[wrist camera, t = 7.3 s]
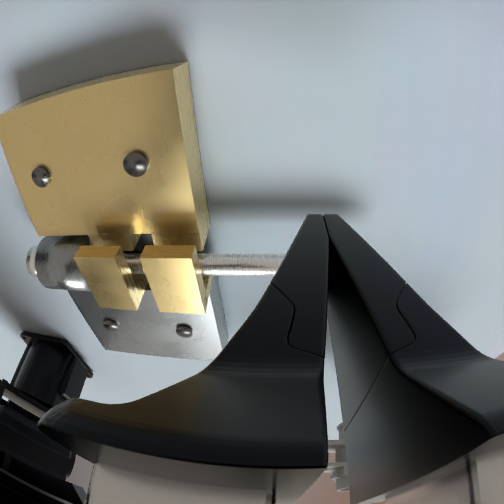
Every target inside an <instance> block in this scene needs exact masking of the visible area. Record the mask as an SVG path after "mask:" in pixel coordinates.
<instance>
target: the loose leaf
mask: <svg viewBox="0 0 504 504" xmlns="http://www.w3.org/2000/svg"><path fill="white" fill-rule="evenodd" d="M0 141H1V144H2V147H3V150H4V153H5V156H6V159H7V162H8V165H9V167H10V170H11V173H12V175H13V178H14V180H15V183H16V185H17V188H18V190H19V193H20V195H21V198H22V200H23V202H24V205H25V207H26V209H27V212H28V214H29V216H30V218H31V220H32V223H33V225H34V227H35V229H36V231H37V233H38V235H39V236H63V235H88V236H89V239H90V241H91V243H92V246H80V248H79V249H78V251H77V252H76V254H75V256H74V259H75V261H76V263H77V265H78V267H79V269H80V271H81V273H82V275H83V277H84V279H85V281H86V283H87V285H88V287H89V289H90V291H91V292H92V294H93V296H94V298H95V300H96V302H97V303H98V305H99V307H101V308H113V309H125V310H138V307H139V305H140V302H141V299H142V297H143V294H144V291H145V289H146V286H147V284H148V282H149V285H150V288H151V290H152V293H153V295H154V298H155V301H156V303H157V306H158V308H159V311H160V312H170V313H189V314H205V312H206V307H207V303H208V298H209V293H210V288H211V284H212V279H213V276H203V275H202V273H201V269H200V264H199V259H198V255H197V251H203V249H204V245H205V241H206V238H207V234H208V231H209V227H210V219H209V213H208V206H207V200H206V193H205V187H204V180H203V173H202V166H201V159H200V152H199V145H198V138H197V130H196V123H195V115H194V108H193V100H192V92H191V83H190V75H189V66H188V61H187V62H179V63H172V64H165V65H159V66H153V67H148V68H142V69H137V70H132V71H127V72H122V73H118V74H113V75H109V76H105V77H101V78H97V79H93V80H89V81H85V82H82V83H78V84H75V85H71V86H68V87H65V88H61V89H58V90H55V91H52V92H49V93H46V94H43V95H40V96H37V97H34V98H31V99H29V100H26V101H23V102H21V103H18V104H17V105H15V106H13V107H11V108H10V109H8V110H6V111H4V112H3V113H1V114H0ZM141 234H151V235H152V238H153V242H154V245H145V247H144V249H143V252H142V254H141V256H140V261H141V264H142V266H143V269H144V272H145V274H132V273H131V270H130V268H129V265H128V263H127V260H126V258H125V255H124V253H123V251H133V250H134V248H135V246H136V244H137V242H138V240H139V238H140V236H141Z"/></svg>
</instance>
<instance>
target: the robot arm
mask: <svg viewBox="0 0 504 504" xmlns="http://www.w3.org/2000/svg"><path fill="white" fill-rule="evenodd" d="M327 317H328V323H329V329H330V335H331V341H332V347H333V354H334V360H335V367H336V374H337V381H338V388H339V396H340V403H341V411H342V420H343V428H344V431H345V432H344V438H345V447H346V457H347V467H348V478H349V490H350V502H351V504H369V503H375V502H382V501H385V504H504V361H501V360H496V359H493V358H490V357H487V356H486V355H484V354H482V353H481V352H479V351H478V350H476V349H475V348H474V347H473V346H472V345H471V344H470V343H469V342H468V341H467V340H465V339H464V338H463V337H462V336H461V335H460V334H459V333H458V332H457V331H456V330H455V329H454V328H453V327H452V326H450V325H449V324H448V323H447V322H446V321H445V320H444V319H443V318H442V317H441V316H440V315H439V314H437V313H436V312H435V311H434V310H433V309H432V308H431V307H430V306H429V305H428V304H427V303H426V302H425V301H424V300H423V299H422V298H421V297H420V296H419V295H418V294H417V293H416V292H415V291H414V290H413V289H412V288H411V287H410V286H409V284H407V283H406V282H405V280H404V279H403V278H402V277H401V276H400V275H399V274H398V273H397V272H396V271H395V270H394V269H393V268H392V267H391V266H390V265H389V264H388V263H387V262H386V261H385V260H384V259H383V258H382V257H381V256H380V255H379V254H378V253H377V252H376V251H375V250H374V249H373V248H372V247H371V246H370V245H369V244H368V243H367V242H366V241H365V240H364V239H363V238H362V237H361V236H360V235H359V234H358V233H357V232H356V231H355V230H354V229H353V228H351V227H350V226H349V225H348V224H347V223H346V222H345V221H344V220H343V219H342V218H341V217H340V216H339V215H337V214H324V215H323V216H322V214H308V215H307V217H306V218H305V220H304V222H303V224H302V226H301V228H300V230H299V231H298V233H297V235H296V237H295V239H294V241H293V243H292V244H291V246H290V248H289V250H288V252H287V254H286V255H285V257H284V259H283V261H282V263H281V265H280V266H279V268H278V270H277V272H276V274H275V275H274V277H273V279H272V281H271V283H270V285H269V286H268V288H267V290H266V291H265V293H264V295H263V296H262V298H261V300H260V301H259V303H258V305H257V306H256V308H255V309H254V310H253V312H252V313H251V315H250V316H249V317H248V319H247V320H246V321H245V323H244V324H243V325H242V326H241V328H240V329H239V330H238V331H237V332H236V334H235V335H234V336H233V337H232V339H231V340H230V341H229V342H228V344H227V345H226V346H225V347H224V348H223V350H222V351H221V352H220V353H219V354H218V356H217V357H216V358H215V359H214V360H213V361H212V362H211V363H210V364H209V365H208V366H207V367H206V368H205V369H204V370H202V371H201V372H199V373H198V374H196V375H194V376H192V377H190V378H188V379H185V380H183V381H181V382H179V383H176V384H174V385H172V386H170V387H167V388H165V389H163V390H160V391H158V392H156V393H153V394H151V395H149V396H146V397H144V398H141V399H139V400H136V401H133V402H129V403H123V404H103V403H98V402H94V401H89V400H85V399H79V397H80V394H81V391H82V388H83V385H84V382H85V379H86V377H87V378H92V376H93V373H92V372H91V371H90V369H89V368H88V367H87V366H86V365H85V363H84V362H83V361H82V360H81V359H80V357H79V356H78V355H77V354H76V352H75V351H74V350H73V349H72V347H71V346H70V345H69V343H68V342H66V341H65V340H61V339H56V338H51V337H46V336H40V335H36V334H31V333H26V332H22V333H21V335H20V336H21V338H22V339H23V340H24V341H25V343H26V344H27V347H26V349H25V352H24V354H23V356H22V358H21V360H20V362H19V365H18V367H17V369H16V372H15V374H14V376H13V378H12V381H11V383H10V384H9V383H8V381H6V380H5V379H3V380H0V504H294V503H295V502H296V501H297V500H298V499H299V498H300V497H301V496H302V495H303V494H304V493H305V492H306V491H307V490H308V489H309V488H310V486H311V485H312V484H313V483H314V482H315V481H316V480H317V479H318V478H319V477H320V475H321V474H322V473H323V472H324V471H325V470H326V469H327V467H328V436H327V420H326V406H325V394H324V358H325V345H326V329H327ZM3 395H4V396H5V397H7V398H8V399H10V400H8V401H5V400H4V399H2V396H3ZM11 400H12V401H13V402H12V401H11ZM14 402H15V403H14ZM17 404H18V405H17ZM19 405H20V406H19ZM22 407H23V408H22ZM24 408H25V409H24ZM27 410H28V411H27ZM29 411H30V412H29ZM31 412H32V413H33V414H32V413H31ZM34 414H35V415H34ZM36 415H37V416H36ZM38 416H39V417H38ZM40 417H41V418H40ZM76 454H77V455H79V456H81V457H82V458H84V459H86V460H88V461H90V462H92V463H94V466H93V471H92V475H91V480H90V484H89V489H88V493H87V495H86V493H85V491H84V489H83V488H82V487H79V486H76V485H74V484H72V483H69V482H67V481H65V480H66V479H67V478H68V477H69V475H70V474H71V472H72V469H73V466H74V463H75V456H76Z"/></svg>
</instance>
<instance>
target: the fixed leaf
mask: <svg viewBox="0 0 504 504" xmlns="http://www.w3.org/2000/svg"><path fill="white" fill-rule="evenodd" d="M80 246H92V243H91V241H90V239H89V236H88V235H63V236H46V237H44V238H43V239H42V240H41V242H40V243H39V245H38V246H33V247H32V248H31V249H30V250H29V252H28V254H27V260H26V262H27V268H28V271H29V273H30V274H31V275H32V276H34V277H38V279H39V281H40V282H41V283H42V285H44V286H45V287H47V288H50V289H62V290H68V292H69V294H70V296H71V297H72V299H73V301H74V302H75V304H76V306H77V307H78V309H79V310H80V312H81V314H82V315H83V317H84V318H85V320H86V321H87V323H88V325H89V326H90V328H91V329H92V331H93V332H94V334H95V335H96V337H97V338H98V340H99V341H100V343H101V344H102V346H103V347H104V348H105V350H112V351H120V352H127V353H135V354H144V355H153V356H162V357H173V358H184V359H197V360H212V361H213V360H214V359H215V358H216V357H217V356H218V354H219V353H220V352H221V351H222V350H223V348H224V347H225V346H226V345H227V343H228V332H227V327H226V322H225V317H224V312H223V306H222V301H221V296H220V290H219V285H218V279H217V276H274V275H275V274H276V272H277V270H278V268H279V266H280V265H281V263H282V261H283V259H284V257H285V255H286V254H197V255H198V259H199V264H200V269H201V273H202V275H203V276H213V279H212V284H211V288H210V293H209V298H208V303H207V307H206V312H205V314H189V313H170V312H160V311H159V308H158V306H157V303H156V301H155V298H154V295H153V293H152V290H151V288H150V285H149V282H148V284H147V286H146V289H145V291H144V294H143V297H142V299H141V302H140V305H139V307H138V310H125V309H113V308H101V307H99V305H98V303H97V302H96V300H95V298H94V296H93V294H92V292H91V291H90V289H89V287H88V285H87V283H86V281H85V279H84V277H83V275H82V273H81V271H80V269H79V267H78V265H77V263H76V261H75V259H74V256H75V254H76V252H77V251H78V249H79V248H80ZM141 254H142V253H124V255H125V258H126V260H127V263H128V265H129V268H130V270H131V273H132V274H145V272H144V269H143V266H142V264H141V261H140V256H141Z"/></svg>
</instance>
